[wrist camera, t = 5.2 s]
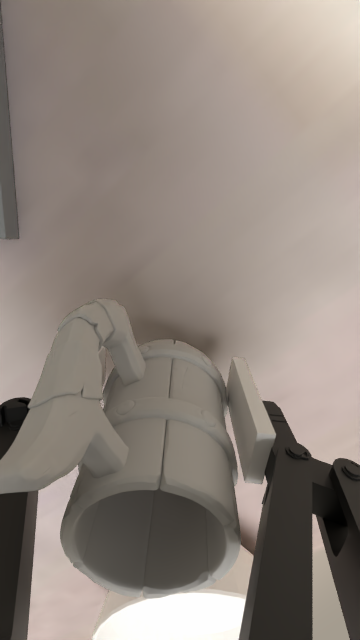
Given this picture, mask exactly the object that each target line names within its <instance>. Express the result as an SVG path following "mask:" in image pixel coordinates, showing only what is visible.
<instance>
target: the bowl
mask: <svg viewBox="0 0 360 640" xmlns="http://www.w3.org/2000/svg"><path fill="white" fill-rule="evenodd" d="M253 557H254V556H253V555H252V554H251V553H250V552H249V551H248V550H247V549H245V548H244V547H243V546H242V545H241V546H240V551H239V555H238V557H237V560H236V562H235V563H234V565H233V567H232V568H231V569H230V571H229V572H228V573H227V574H226V575H225V576H224V577H223V578H221V579H220V580H217V579H216V582H215V583H214V584H213V585H211V586H209V587H207V588H204V589H200V590H198V591H190V592H186V593H184V592H179V593H176V594H172V595H168V596H166V597H162V598H152V599H146V598H144V596H143V590H142V593H141V596H140V597H130V596H124V595H120V594H118V593H116V592H113V591H111V590H110V591H109V592H108V594H107V596H106V599H105V602H104V604H103V607H102V610H101V613H100V615H99V618H98V621H97V624H96V626H95V629H94V632H93V635H92V639H91V640H239V635H240V629H241V624H242V618H243V613H244V607H245V602H246V596H247V590H248V585H249V579H250V574H251V568H252V563H253Z"/></svg>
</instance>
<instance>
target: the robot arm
mask: <svg viewBox="0 0 360 640" xmlns="http://www.w3.org/2000/svg"><path fill="white" fill-rule="evenodd" d="M98 357H99V359H100V361H101V365H102V386H103V384H104V382H105V369H106V348H105V347H103V346H102V347H101V349H100V350H99V351H98ZM226 391H227V398H228V408H229V412H230V417H231V422H232V426H233V431H234V435H235V440H236V444H237V449H238V453H239V458H240V463H241V467H242V472H243V476H244V481H245V483H255V484H262V483H263V479H264V476H266V480H267V483H268V484H267V487H266V491H265V494H264V498H263V501H262V504H263V507H262V513H261V518H260V524H259V530H258V535H257V541H256V546H255V552H254V557H253V563H252V568H251V574H250V579H249V585H248V590H247V596H246V602H245V607H244V613H243V618H242V624H241V629H240V635H239V640H312V514H315V515H316V517H317V521H318V525H319V528H320V532H321V536H322V539H323V543H324V547H325V550H326V554H327V557H328V561H329V565H330V568H331V572H332V576H333V579H334V583H335V587H336V590H337V594H338V597H339V601H340V604H341V609H342V612H343V616H344V619H345V623H346V627H347V630H348V634H349V638H350V640H360V465H358V464H357V463H355V462H353V461H351V460H348V459H344V458H338V459H336V460H335V461H334V462H333V465H330V464H327V463H325V462H322V461H319V460H316V459H314V458H312V457H311V454H310V452H309V451H308V450H307V449H306V448H305V447H304V446H302V445H301V444H299V443H297V441H296V439H295V437H294V435H293V433H292V431H291V429H290V427H289V425H288V423H287V421H286V419H285V417H284V415H283V413H282V411H281V409H280V408H279V407H278V406H277V405H276V404H275V403H274V402H270V401H262V399H261V397H260V394H259V392H258V390H257V387H256V385H255V382H254V380H253V378H252V375H251V373H250V370H249V368H248V365H247V363H246V361H245V358H239V357H232V362H231V367H230V372H229V377H228V382H227V387H226ZM30 401H31V399H29V398H25V397H22V398H14V399H10V400H8V401H6V402H4V403H2V404H1V405H0V460H1V459H2V458H3V456H4V455H5V454H6V453H7V451H8V450H9V449H10V447H11V445H12V444H13V442H14V440H15V439H16V437H17V435H18V433H19V430H20V428H21V426H22V424H23V422H24V420H25V418H26V416H27V414H28V412H29V410H30V408H28V405H29V403H30ZM37 503H38V490H36V491H28V492H14V493H4V494H0V640H27V634H28V620H29V607H30V594H31V581H32V568H33V555H34V542H35V529H36V516H37Z"/></svg>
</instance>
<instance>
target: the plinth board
mask: <svg viewBox="0 0 360 640" xmlns="http://www.w3.org/2000/svg"><path fill="white" fill-rule="evenodd" d="M17 238H19V232H18V220H17V207H16V195H15V182H14V170H13V157H12V145H11V132H10V120H9V107H8V95H7V82H6V70H5V57H4V45H3V32H2V20H1V7H0V239H17Z"/></svg>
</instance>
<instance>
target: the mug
mask: <svg viewBox="0 0 360 640" xmlns="http://www.w3.org/2000/svg"><path fill="white" fill-rule="evenodd" d="M102 346H103V347H105V348H108V350H109V353H110V355H111V357H112V360H113V362H114V365H115V367H114V369H113V370H112V372H111V374H110V376H109V378H108V380H107V383H106V386H105V388H104V391H103V393H102V365H101V361H100V359H99V357H98V351H99V350H100V349H101V347H102ZM103 398H104V399H103ZM102 399H103V401H104V409H102V407H101V405H100V400H102ZM227 406H228V398H227V391H226V387H225V383H224V381H223V379H222V376H221V374H220V372H219V370H218V369H217V367H216V366H215V365H214V364H213V363H212V361H211V360H210V359H209V358H208V357H207V356H206V355H205V354H204V353H203V352H201V351H200V350H198V349H196V348H194V347H192V346H191V345H189V344H187V343H185V342H181V341H175V343H174V340H173V339H160V340H155V341H150V342H147V343H145V344H142V345H140V346H137V343H136V340H135V338H134V335H133V332H132V328H131V324H130V320H129V317H128V314H127V312H126V310H125V308H124V306H122V305H119V304H118V303H117V301H115V300H112V299H95V300H93V301H90V302H88V303H87V304H85V305H84V306H81V307H79V308H78V309H76V310H75V311H73V312H72V313H70V314H69V315H67V316H66V317H65V318H64V320H63V321H62V323H61V325H60V326H59V328H58V334H57V336H56V338H55V340H54V342H53V345H52V348H51V351H50V354H48V356H47V359H46V362H45V365H44V368H43V371H42V374H41V377H40V380H39V382H38V385H37V387H36V390H35V392H34V394H33V397H32V399H31V401H30V403H29V405H28V408H30V410H29V412H28V414H27V416H26V418H25V420H24V422H23V424H22V426H21V428H20V430H19V433H18V435H17V437H16V439H15V440H14V442H13V444H12V445H11V447H10V449H9V450H8V451H7V453H6V454H5V455H4V456H3V458H2V459H1V460H0V494H4V493H14V492H28V491H36V490H40V489H43V488H45V487H47V486H48V485H50V484H51V483H53V482H54V481H56V480H57V479H59V478H61V477H63V476H65V475H67V474H68V473H69V472H71V471H72V470H73V469H74V468H75V467H76V466H77V465H78V466H79V468H78V470H79V475H78V477H77V480H76V482H75V485H74V487H73V490H72V493H71V496H70V500H69V502H68V504H67V508H66V511H65V514H64V517H63V520H62V524H61V531H60V539H61V544H62V547H63V550H64V552H65V554H66V556H67V557H68V558H69V560H70V562H71V563H73V566H74V567H75V568H77V569H78V570H79V571H81V572H82V573H84V574H85V575H86V576H88V577H89V578H90V579H91V580H92V581H93V582H95V583H97V584H98V585H100V586H102V587H104V588H106V589H108V590H111V591H113V592H116V593H118V594H120V595H124V596H130V597H140V596H141V593H142V590H143V596H144V598H146V599H152V598H162V597H166V596H168V595H172V594H176V593H179V592H184V593H186V592H190V591H198V590H200V589H204V588H207V587H209V586H211V585H213V584H214V583H215V582H216V579H217V580H220V579H221V578H223V577H224V576H225V575H226V574H227V573H228V572H229V571H230V569H231V568H232V567H233V565H234V563H235V562H236V560H237V557H238V555H239V551H240V546H241V534H240V526H239V518H238V511H237V504H236V497H235V489H234V486H235V485H236V484H237V479H238V472H237V461H236V456H235V451H234V448H233V444H232V441H231V439H230V437H229V435H228V433H227V432H226V424H225V416H226V414H227V411H228V408H227Z"/></svg>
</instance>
